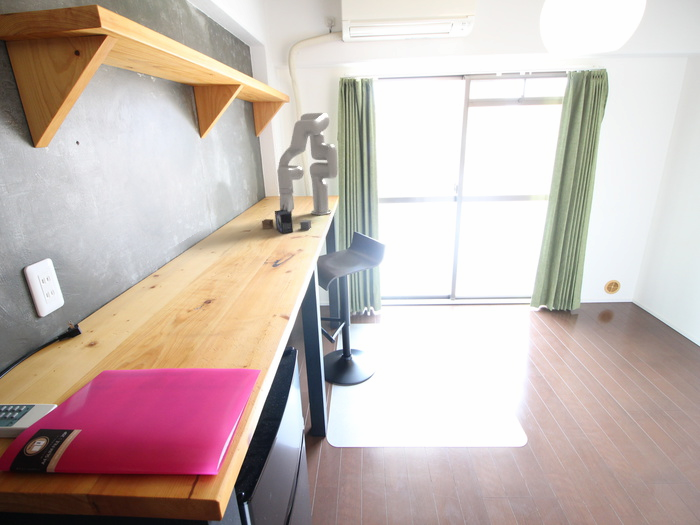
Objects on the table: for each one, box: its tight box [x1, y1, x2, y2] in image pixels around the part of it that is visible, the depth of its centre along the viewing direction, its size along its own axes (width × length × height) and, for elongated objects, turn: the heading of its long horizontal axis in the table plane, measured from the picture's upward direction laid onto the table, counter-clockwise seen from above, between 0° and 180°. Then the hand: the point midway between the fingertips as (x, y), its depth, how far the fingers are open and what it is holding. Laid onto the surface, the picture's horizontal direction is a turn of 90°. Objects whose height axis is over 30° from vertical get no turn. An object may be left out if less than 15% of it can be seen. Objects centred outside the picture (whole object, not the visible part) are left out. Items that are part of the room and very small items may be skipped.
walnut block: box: [261, 218, 274, 230], centre depth 204 cm, size 4×4×4 cm
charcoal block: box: [299, 219, 312, 231], centre depth 200 cm, size 4×4×4 cm
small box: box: [274, 209, 294, 234], centre depth 196 cm, size 11×6×10 cm, turn 28°
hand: (289, 223), depth 206 cm, fingers closed
